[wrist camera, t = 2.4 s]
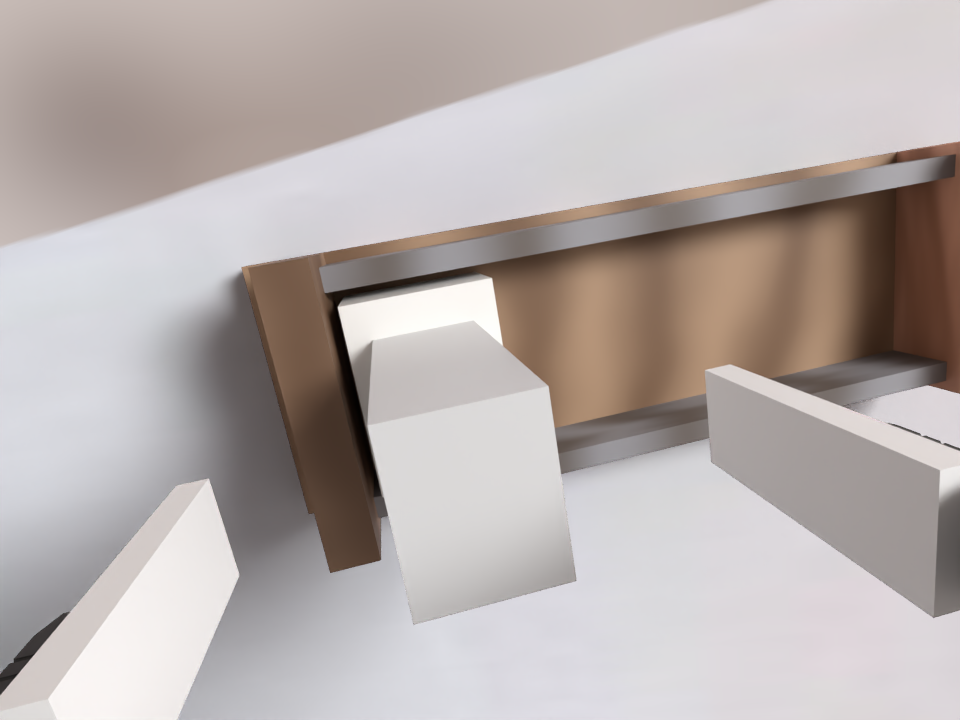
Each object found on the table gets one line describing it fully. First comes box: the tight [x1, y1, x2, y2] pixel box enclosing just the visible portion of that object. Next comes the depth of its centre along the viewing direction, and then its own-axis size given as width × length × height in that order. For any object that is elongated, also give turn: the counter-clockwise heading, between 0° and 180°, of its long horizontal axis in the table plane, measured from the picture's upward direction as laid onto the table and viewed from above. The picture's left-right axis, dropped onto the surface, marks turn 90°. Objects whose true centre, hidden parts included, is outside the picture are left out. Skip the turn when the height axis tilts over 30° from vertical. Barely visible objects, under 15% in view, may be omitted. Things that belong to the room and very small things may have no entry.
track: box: [242, 142, 960, 573], centre depth 26 cm, size 36×12×7 cm, turn 100°
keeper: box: [338, 272, 576, 625], centre depth 19 cm, size 6×8×14 cm
